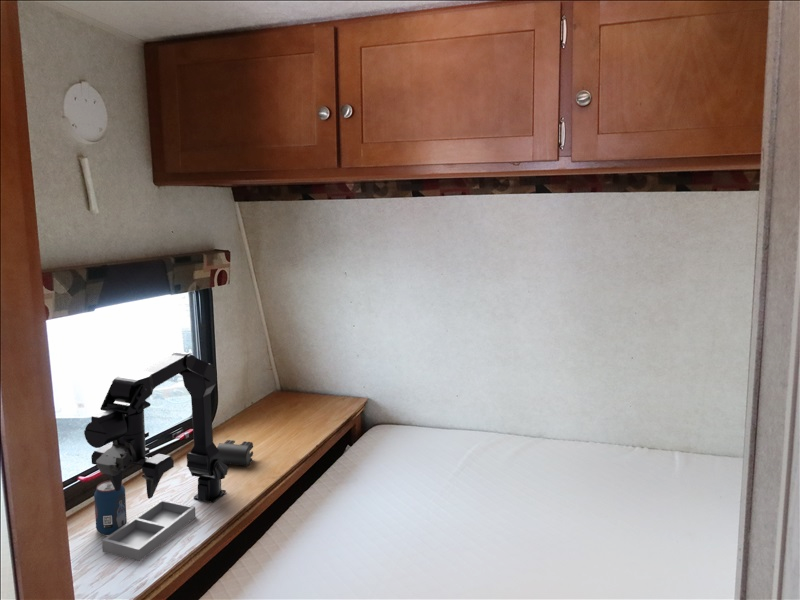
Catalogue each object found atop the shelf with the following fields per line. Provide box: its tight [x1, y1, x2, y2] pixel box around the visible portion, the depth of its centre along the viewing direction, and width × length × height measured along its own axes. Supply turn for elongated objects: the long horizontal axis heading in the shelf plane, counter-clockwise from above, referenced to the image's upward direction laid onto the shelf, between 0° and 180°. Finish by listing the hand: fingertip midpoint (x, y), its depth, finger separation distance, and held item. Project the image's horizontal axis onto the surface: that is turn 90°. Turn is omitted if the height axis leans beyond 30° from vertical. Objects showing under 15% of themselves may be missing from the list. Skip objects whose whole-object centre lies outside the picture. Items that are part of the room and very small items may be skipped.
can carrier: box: [101, 499, 197, 562], centre depth 146 cm, size 20×11×3 cm, turn 162°
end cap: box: [216, 439, 254, 467], centre depth 185 cm, size 10×7×7 cm
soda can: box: [93, 479, 128, 536], centre depth 146 cm, size 7×7×12 cm
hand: (134, 494), depth 136 cm, fingers open, 9 cm apart
